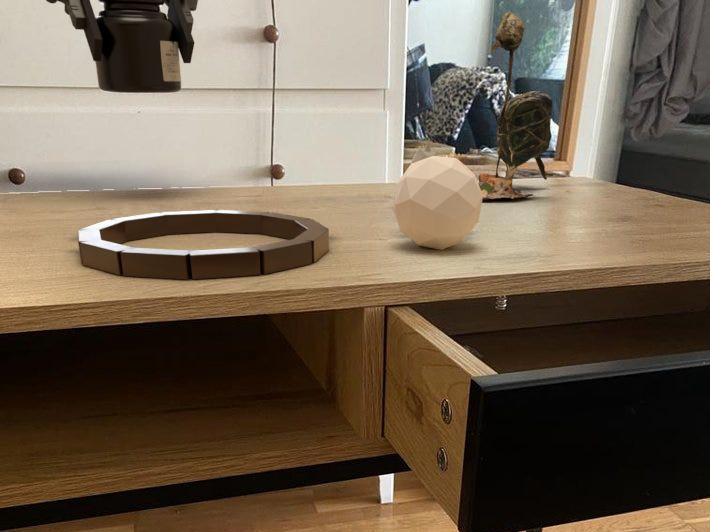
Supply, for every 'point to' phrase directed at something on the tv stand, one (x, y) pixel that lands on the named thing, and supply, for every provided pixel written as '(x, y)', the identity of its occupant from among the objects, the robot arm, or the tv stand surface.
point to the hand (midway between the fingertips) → (144, 51)
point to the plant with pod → (517, 122)
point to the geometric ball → (437, 202)
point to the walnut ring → (108, 255)
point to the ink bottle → (137, 48)
